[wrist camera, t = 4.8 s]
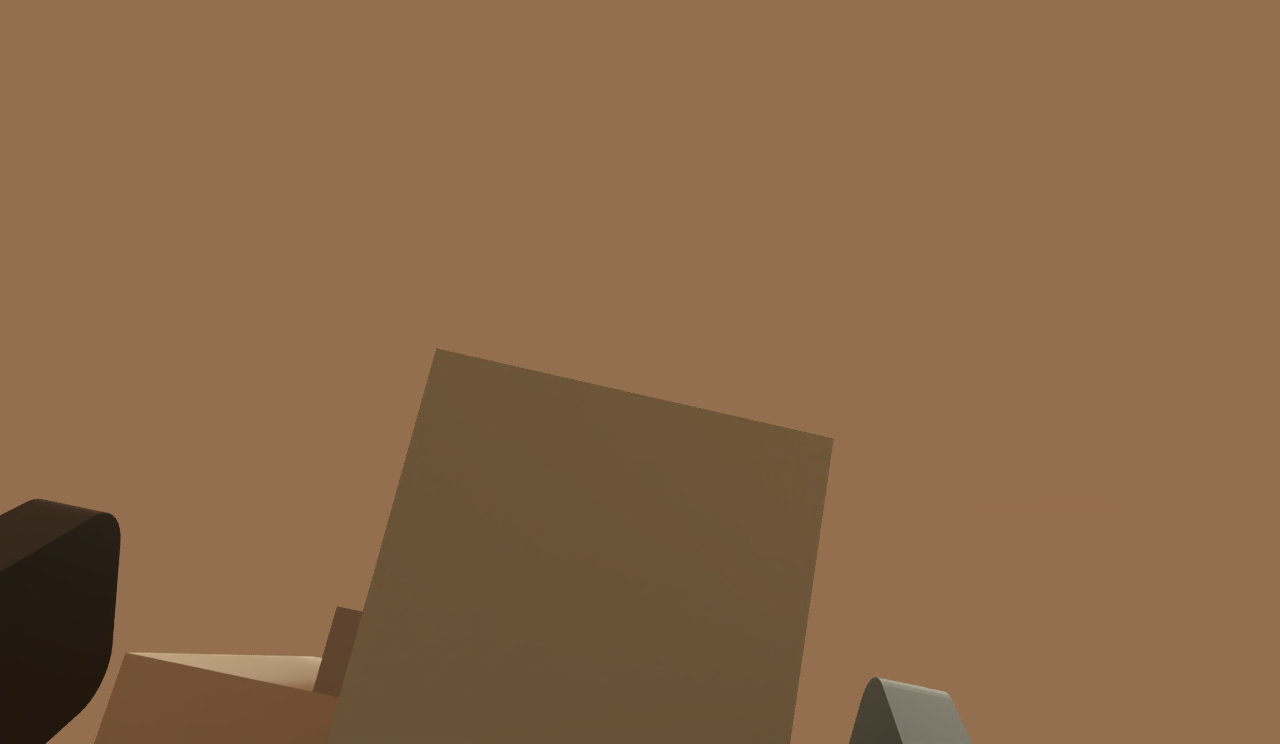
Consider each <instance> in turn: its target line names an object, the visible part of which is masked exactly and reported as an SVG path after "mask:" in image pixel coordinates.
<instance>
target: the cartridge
mask: <svg viewBox="0 0 1280 744" xmlns="http://www.w3.org/2000/svg"><path fill="white" fill-rule="evenodd" d="M832 446H833V438H829V437H824V436H820V435H815V434H811V433H807V432H802V431H798V430H793V429H789V428H784V427H780V426H776V425H771V424H766V423H762V422H758V421H754V420H749V419H745V418H740V417H736V416H731V415H727V414H723V413H718V412H714V411H709V410H705V409H701V408H696V407H692V406H688V405H683V404H679V403H674V402H670V401H665V400H661V399H656V398H652V397H648V396H643V395H639V394H635V393H630V392H626V391H621V390H617V389H613V388H608V387H604V386H599V385H595V384H591V383H586V382H582V381H577V380H573V379H568V378H564V377H560V376H555V375H551V374H546V373H542V372H538V371H533V370H528V369H524V368H520V367H515V366H511V365H506V364H502V363H498V362H493V361H489V360H484V359H480V358H476V357H472V356H467V355H463V354H458V353H454V352H449V351H445V350H440V349H436V351H435V355H434V359H433V362H432V366H431V370H430V373H429V376H428V380H427V384H426V387H425V391H424V394H423V398H422V402H421V405H420V409H419V412H418V416H417V419H416V423H415V427H414V430H413V434H412V437H411V441H410V445H409V448H408V452H407V455H406V459H405V462H404V466H403V470H402V474H401V477H400V480H399V484H398V488H397V491H396V495H395V499H394V502H393V505H392V509H391V513H390V516H389V520H388V523H387V527H386V531H385V534H384V538H383V541H382V545H381V549H380V552H379V556H378V559H377V563H376V566H375V570H374V574H373V577H372V581H371V585H370V588H369V592H368V595H367V599H366V602H365V606H364V609H363V613H362V617H361V620H360V624H359V627H358V631H357V634H356V638H355V642H354V645H353V649H352V652H351V656H350V660H349V663H348V667H347V670H346V674H345V677H344V681H343V685H342V688H341V692H340V695H339V699H338V703H337V706H336V710H335V713H334V717H333V720H332V724H331V728H330V731H329V735H328V738H327V742H326V744H790V739H791V733H792V726H793V719H794V712H795V705H796V697H797V691H798V684H799V677H800V669H801V663H802V656H803V649H804V642H805V635H806V628H807V620H808V614H809V607H810V600H811V593H812V586H813V578H814V571H815V565H816V558H817V550H818V544H819V537H820V529H821V523H822V516H823V509H824V502H825V495H826V488H827V481H828V474H829V466H830V460H831V452H832Z"/></svg>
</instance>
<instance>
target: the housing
mask: <svg viewBox="0 0 1280 744" xmlns="http://www.w3.org/2000/svg"><path fill="white" fill-rule="evenodd" d="M362 613H363V612H361V611H356V610H351V609H347V608H342V607H337V608H336V612H335V615H334V619H333V622H332V626H331V629H330V633H329V636H328V639H327V643H326V647H325V650H324V653H323V657H322V658H318V657H308V656H266V655H265V656H264V655H222V654H221V655H220V654H177V653H176V654H175V653H174V654H173V653H132V652H126V653H125V656H124V659H123V662H122V665H121V668H120V670H119V673H118V676H117V679H116V682H115V685H114V688H113V691H112V693H111V696H110V699H109V702H108V705H107V708H106V711H105V713H104V716H103V719H102V722H101V725H100V728H99V731H98V734H97V736H96V739H95V742H94V744H326V742H327V738H328V735H329V731H330V728H331V724H332V720H333V717H334V713H335V710H336V706H337V703H338V699H339V695H340V692H341V688H342V685H343V681H344V677H345V674H346V670H347V667H348V663H349V660H350V656H351V652H352V649H353V645H354V642H355V638H356V634H357V631H358V627H359V624H360V620H361V617H362Z"/></svg>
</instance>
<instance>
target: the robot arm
mask: <svg viewBox="0 0 1280 744" xmlns="http://www.w3.org/2000/svg"><path fill="white" fill-rule="evenodd" d="M119 554H120V528H119V524H118V522H117V520H116V518H115V517H114V516H113V515H111V514H109V513H105V512H100V511H95V510H91V509H86V508H81V507H76V506H72V505H67V504H62V503H57V502H52V501H48V500H43V499H33V500H31V501H28V502H26V503H24V504H22V505H20V506H18V507H16V508H14V509H12V510H10V511H8V512H6V513H4V514H2V515H0V744H45V743H47V742H48V741H49V740H50V739H51V738H52V737H53V736H54V735H56V734H57V733H58V732H59V731H60V730H61V729H62V728H63V727H64V726H66V725H67V724H68V723H69V722H70V721H71V720H72V719H73V718H74V717H76V716H77V715H78V714H79V713H80V712H81V711H82V710H83V709H84V708H85V707H86V706H87V704H88V703H89V702H90V701H91V699H92V698H93V696H94V695H95V693H96V691H97V690H98V688H99V686H100V684H101V682H102V680H103V678H104V675H105V673H106V670H107V667H108V664H109V661H110V656H111V652H112V643H113V630H114V618H115V604H116V592H117V579H118V566H119ZM849 744H972V742H971V740H970V738H969V735H968V733H967V731H966V729H965V727H964V725H963V723H962V720H961V718H960V716H959V714H958V712H957V710H956V708H955V706H954V703H953V701H952V699H951V697H950V696H949V695H948V694H947V693H946V692H943V691H939V690H934V689H930V688H925V687H920V686H915V685H911V684H906V683H901V682H897V681H892V680H887V679H882V678H878V677H875V678H872V679H871V680H870V682H869V683H868V685H867V686H866V688H865V691H864V693H863V696H862V700H861V703H860V706H859V710H858V713H857V717H856V721H855V724H854V728H853V731H852V735H851V738H850V742H849Z"/></svg>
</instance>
